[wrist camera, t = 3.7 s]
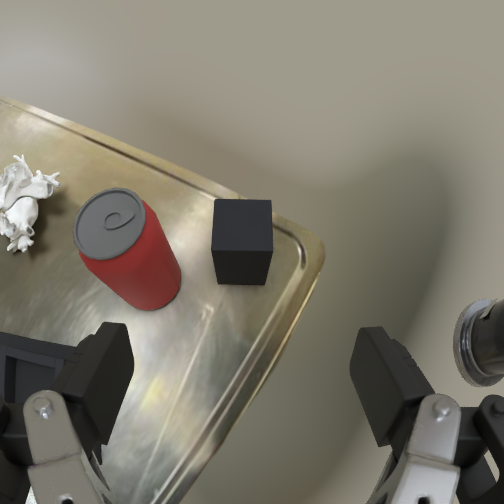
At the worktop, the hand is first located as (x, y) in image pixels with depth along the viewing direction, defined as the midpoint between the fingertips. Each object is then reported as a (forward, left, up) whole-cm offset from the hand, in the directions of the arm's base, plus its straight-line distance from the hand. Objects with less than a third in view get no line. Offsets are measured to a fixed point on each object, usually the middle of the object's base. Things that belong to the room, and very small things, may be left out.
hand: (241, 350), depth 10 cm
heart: (+32, 0, -18) cm, 37 cm away
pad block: (+5, -9, -18) cm, 21 cm away
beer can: (+12, -3, -18) cm, 22 cm away
